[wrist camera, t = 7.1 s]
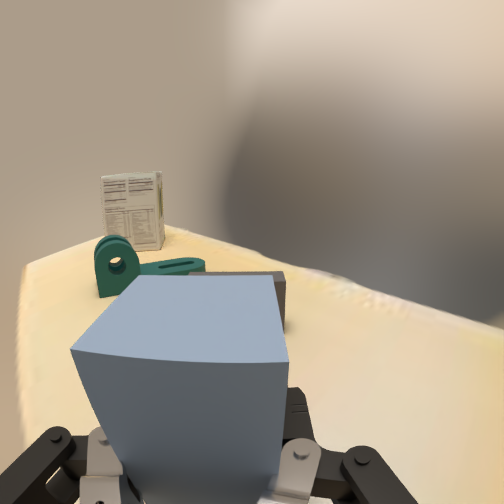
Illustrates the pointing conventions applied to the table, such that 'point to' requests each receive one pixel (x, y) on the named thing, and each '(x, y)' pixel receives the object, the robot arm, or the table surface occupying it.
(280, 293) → the stop block
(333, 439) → the table surface
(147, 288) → the block
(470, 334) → the table surface
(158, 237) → the supplement box
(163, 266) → the bracket
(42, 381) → the table surface
